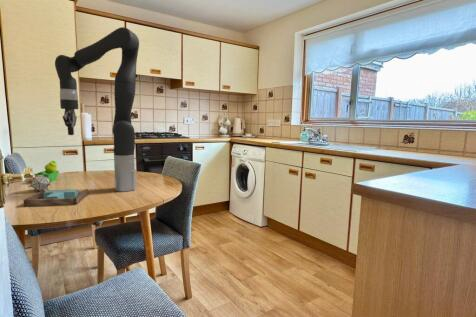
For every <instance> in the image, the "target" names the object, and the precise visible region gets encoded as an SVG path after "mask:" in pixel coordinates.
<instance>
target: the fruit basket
mask: <svg viewBox="0 0 476 317" xmlns="http://www.w3.org/2000/svg"><path fill="white" fill-rule="evenodd" d="M57 165H58V164H57V162H56V161H55V160H51V161H50V162H48V163H47V164H46V165H45V166H44V169H45V170H43V171H40V172H36V173H33V176H34V175H35V176H38V175H40V173H41V175H43V176H45V175H46V177H47V178H48V179H51V180H50V181H49V184H50V183H52V182H55V181H57V179H58V176H59V173H60V170H57V169H58V167H57Z"/></svg>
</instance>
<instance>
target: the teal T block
mask: <svg viewBox="0 0 476 317" xmlns="http://www.w3.org/2000/svg"><path fill="white" fill-rule="evenodd" d="M77 195H79V190H78V189H50V190H49V189H48V190H46V191H45V192H44V197H43V199H55V198H75V197H76V196H77Z"/></svg>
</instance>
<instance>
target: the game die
mask: <svg viewBox="0 0 476 317" xmlns="http://www.w3.org/2000/svg"><path fill="white" fill-rule="evenodd" d="M50 180H51V179H48V178H47V177H46V175H45V176H43V175H41V173H40V175H38V176H35V180H34V181H30V182H31V183H30V185H28V187H29V188H30V187H31V188H32V189H34V191H35V192H36V190H37V191H39V192H40V191H45V190H46V191H48V190H49V188H48V187H49V186H51V184H50V183H49V181H50Z"/></svg>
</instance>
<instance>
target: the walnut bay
mask: <svg viewBox="0 0 476 317" xmlns="http://www.w3.org/2000/svg"><path fill="white" fill-rule="evenodd" d="M44 192H46V191H45V190H41V191H40V192H36V193H34V194H32V195H31V196H29V197H27V198H25V199H23V200H22V201H23V207H25V208H26V207H49V206H73V205H74V206H75V205H78V204H79V203H80V202H81V201H83V200H84V199H85V198H86V197H87V196H89V189H83V190H82V191H81V192H80V193H78V195H77V196H76V197H75V198H55V199H44Z"/></svg>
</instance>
